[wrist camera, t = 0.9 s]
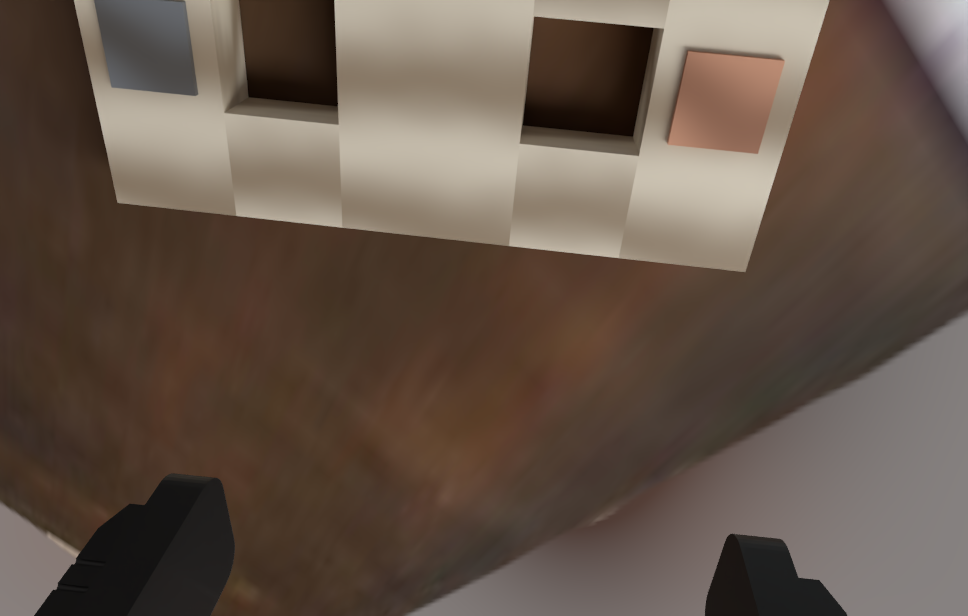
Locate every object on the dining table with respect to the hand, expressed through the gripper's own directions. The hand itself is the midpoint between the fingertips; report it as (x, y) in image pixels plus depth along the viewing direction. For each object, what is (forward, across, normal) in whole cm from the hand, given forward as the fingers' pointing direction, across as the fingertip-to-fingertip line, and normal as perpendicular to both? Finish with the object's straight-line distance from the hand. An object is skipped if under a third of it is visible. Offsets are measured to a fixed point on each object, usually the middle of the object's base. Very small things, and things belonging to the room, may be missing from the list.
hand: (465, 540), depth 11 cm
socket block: (+27, +4, -2) cm, 27 cm away
